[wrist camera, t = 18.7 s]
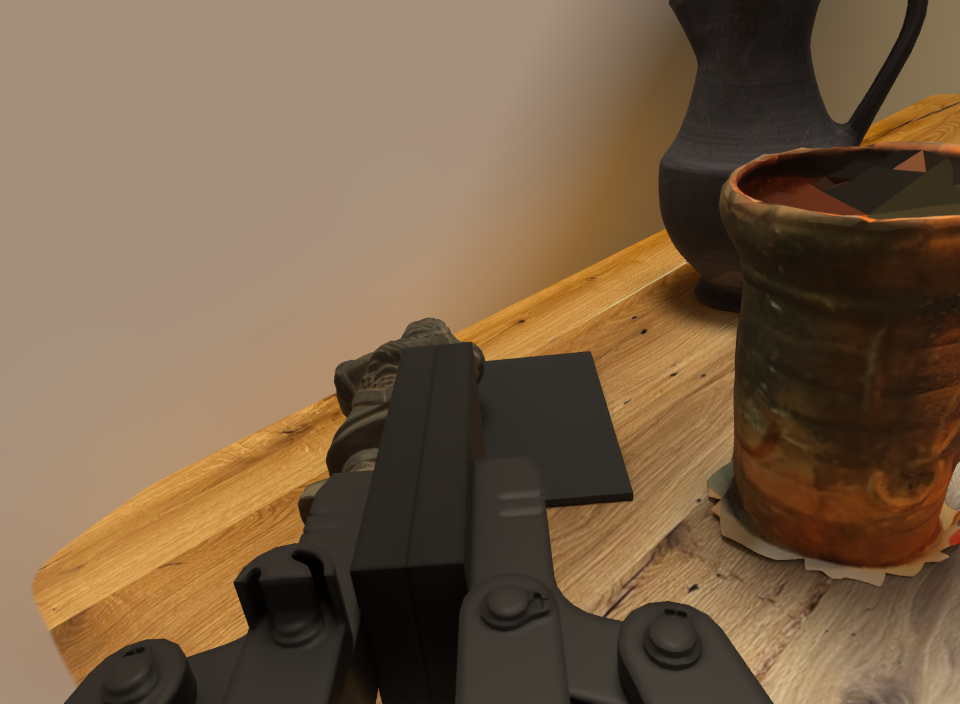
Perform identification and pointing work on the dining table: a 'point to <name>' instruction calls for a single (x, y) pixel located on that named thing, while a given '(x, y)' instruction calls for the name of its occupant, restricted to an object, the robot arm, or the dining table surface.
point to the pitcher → (751, 118)
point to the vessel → (845, 357)
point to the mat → (554, 425)
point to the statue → (373, 400)
